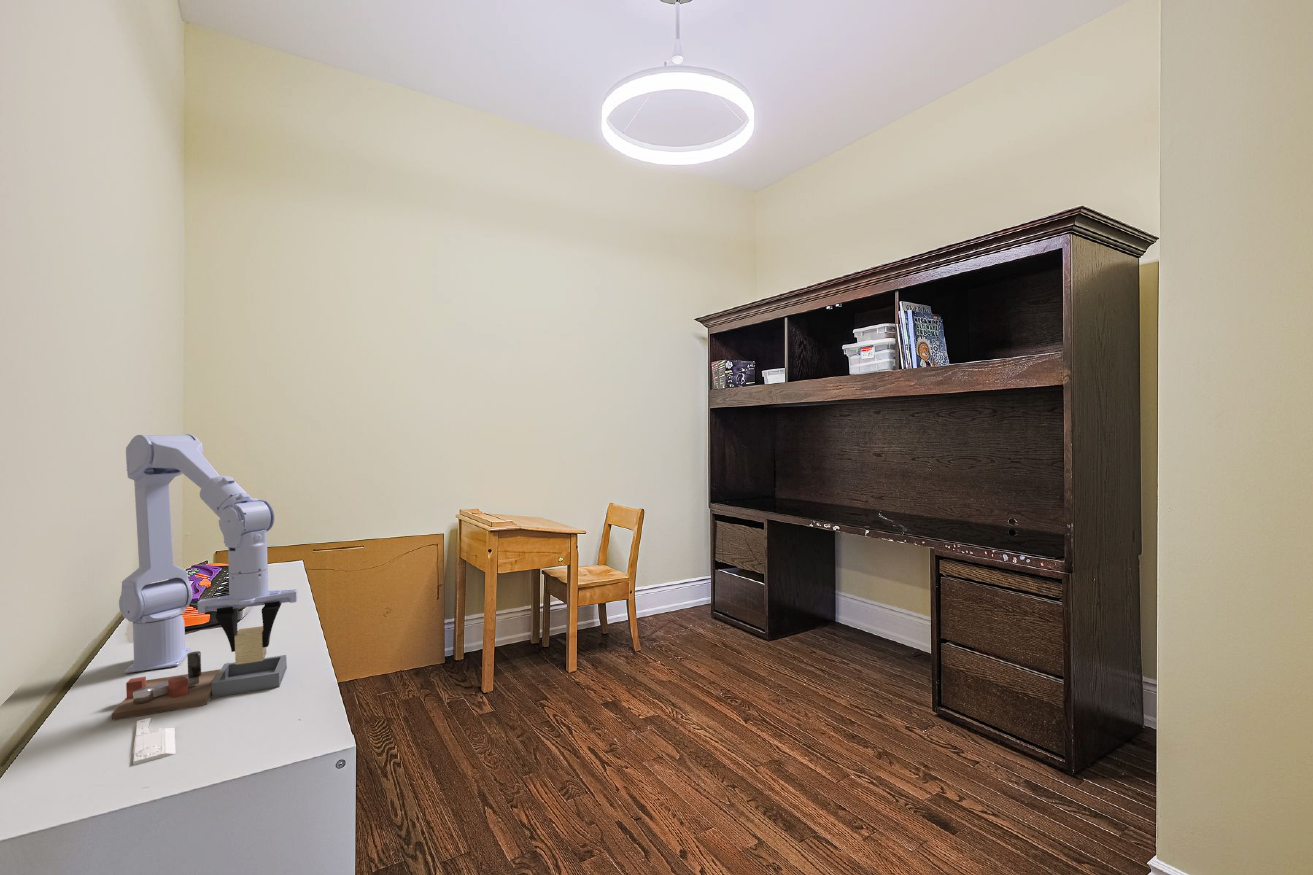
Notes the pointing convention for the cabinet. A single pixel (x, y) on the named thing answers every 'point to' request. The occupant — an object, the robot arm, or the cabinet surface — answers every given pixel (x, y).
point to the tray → (249, 676)
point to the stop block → (249, 645)
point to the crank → (151, 692)
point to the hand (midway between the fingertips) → (250, 647)
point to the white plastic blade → (152, 742)
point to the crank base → (167, 695)
